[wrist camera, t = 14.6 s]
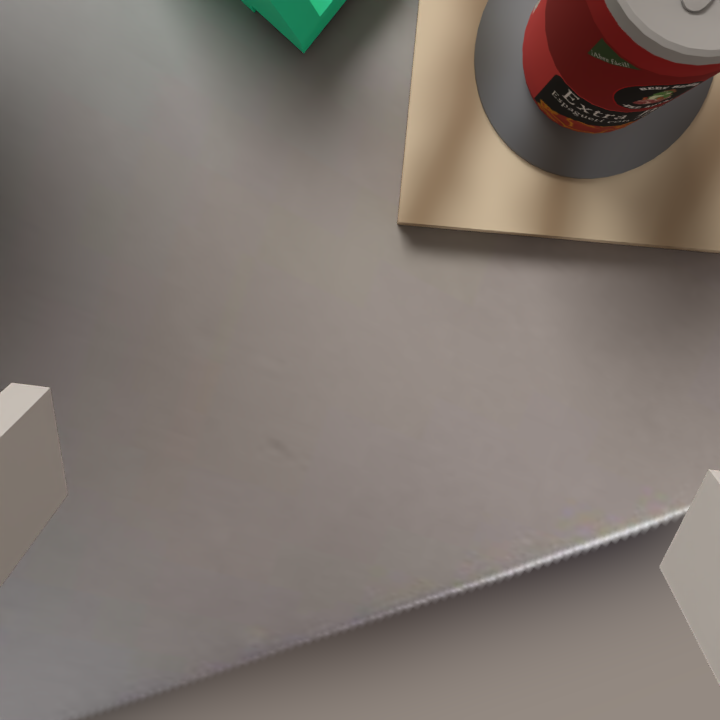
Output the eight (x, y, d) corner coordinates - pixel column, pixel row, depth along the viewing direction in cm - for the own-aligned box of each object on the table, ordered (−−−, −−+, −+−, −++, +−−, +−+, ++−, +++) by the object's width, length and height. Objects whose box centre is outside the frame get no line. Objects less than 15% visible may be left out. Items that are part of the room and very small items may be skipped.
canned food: (517, 142, 30) (598, 65, 19) (516, -27, 29) (602, -213, 18) (669, 134, 30) (841, 51, 19) (674, -37, 28) (860, -231, 18)
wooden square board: (397, 224, 32) (398, 221, 31) (432, -135, 30) (435, -162, 28) (723, 253, 32) (743, 252, 30) (786, -107, 29) (813, -132, 28)
